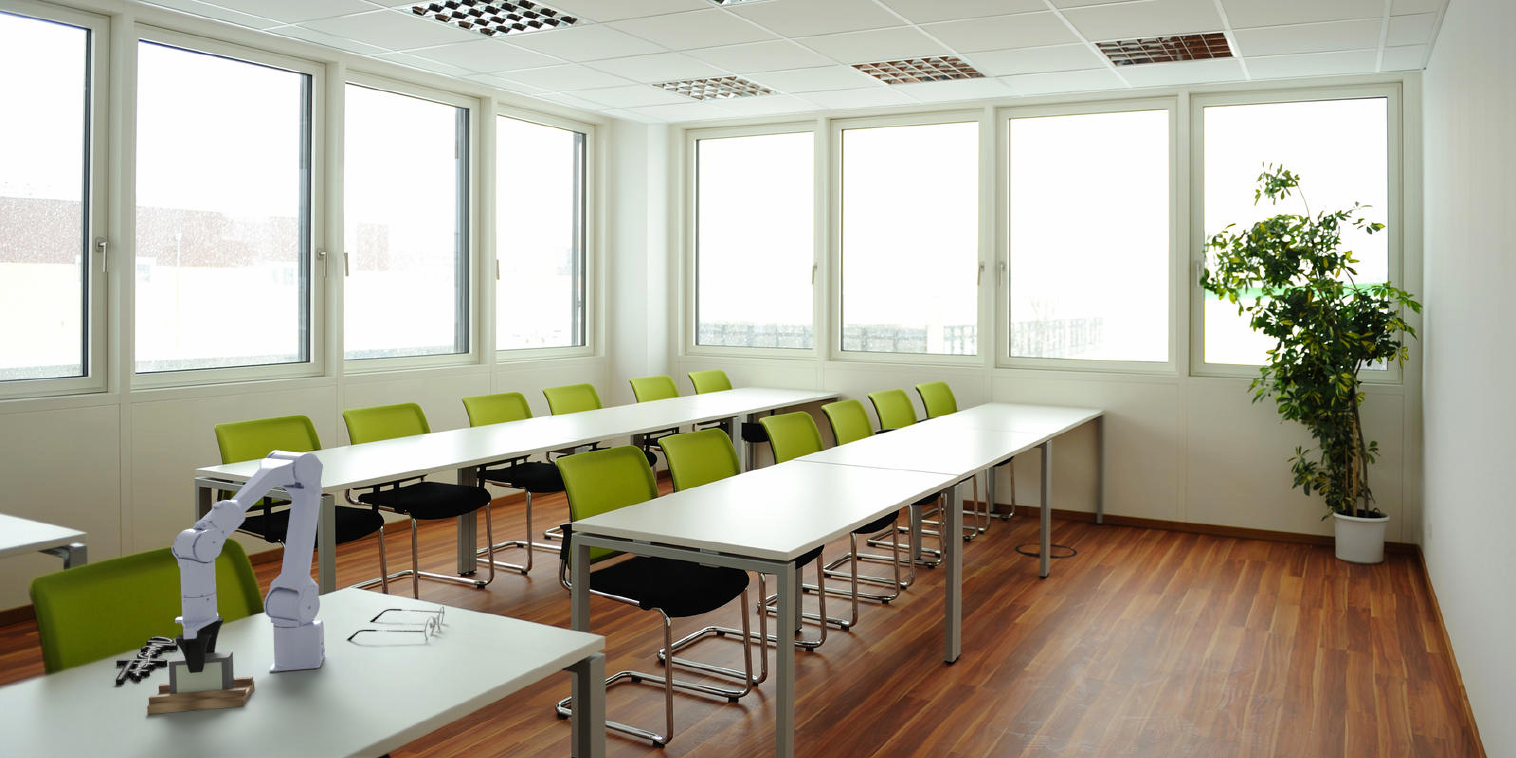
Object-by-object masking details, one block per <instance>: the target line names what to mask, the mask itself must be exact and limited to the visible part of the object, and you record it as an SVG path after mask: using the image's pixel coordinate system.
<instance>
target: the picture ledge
mask: <svg viewBox="0 0 1516 758" xmlns="http://www.w3.org/2000/svg"><path fill="white" fill-rule="evenodd" d="M254 690H255V680H254V676H244V677H234V688H233V689H225V690H213V691H201V692H189V693H177V694H170V682H167V683H160V684H159V685H158V692H157V694H154V695H150V696H149V697H148V705H147V707H146V709H147V711H146V713H147V715H153V714H165V713H178V712H188V711H189V712H191V711H199V710H200V711H201V710H210V709H211V710H212V709H222V708H223V709H224V708H234V707H235V708H236V707H244V706H245V705H246V704H247V701H248V700H249V698H250V697H251V695H252V693H253V692H254Z"/></svg>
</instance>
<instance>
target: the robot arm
mask: <svg viewBox="0 0 1516 758" xmlns="http://www.w3.org/2000/svg"><path fill="white" fill-rule="evenodd" d="M323 469H324V464H323V463H322V461H321V460H320V459H319V458H318V456H317V455H316V454H314V453H312V452H294V451H282V450H273V451H271V452H269V454H267V455H266V457H265V458H264V459H262V460H260V463H259V468H258V470H257V471H256V472H255V473H254V474H253V475H251V477H250V479H249V480H247V481H246V482H245V484H243V486H242V487H241V488H240V489H239V490H238V491H237V493H236V494H235V495H234V496H233V497H232V498H231V499H230V500H229V499H228V500H227V499H223V500H221V501H216V502H214V504H213V505H212V509H210V511H209V512H207V514H205V515H204V516H203V517H201V519H200V520H198V521H196V522H195V523H194V526H193V527H192V528H188V529H184V530H182V531H181V532H180V533H179V534H178V535H177V536H176V537H175V539H174V541H173V542H174V543H173V545H172V546H170V547H171V553H172V555H173V556H174V558H176V560H177V566H178V568H179V569H180V573H179V574H180V597H181V616H177V617H176V618H175V619H174V620H175V621H174V623H175V624H181V625H182V628H183V629H182V633H183V634H177V636H176V637H175V643H176V644H177V645H178V648H179V649H180V651H181V652H182V655H184V657H185V660H186V663H187V667H188V670H189V672H190V673H198V672H202V671H203V668H204V663H205V654H206V653H216V645H217V641H218V635H219V632H220V629H221V627H222V625H223V623H224V620H225V619H224V617H222V616H220V617H219V613H218V604H217V603H218V600H217V582H216V580H217V579H216V578H217V577H216V576H217V575H216V559H217V558H219V557H220V555H221V553H222V550H223V546H224V544H225V543H226V541H227V540H226V539H228V538H229V537H230V536H231V535H232V534H233V533H234V532H235V531H236V530H237V529H238V528H239V527H240V526H242V524H243V523H244V522H245V521H246V512H247V511H248V510H249V509H250V508H251V507H252V506H254V505H255V504H256V503H257V502H258V501H260V500H261V499H262V498H263V497H264V496H265V495H267V494H268V493H269V492H270V491H271V490H272V489H273V488H277V487H281V488H282V489H284V490H285V491H286V492H287V493H288V495H289V496H290V497H291V504H290V511H289V519H288V525H287V526H288V527H287V531H286V532H287V533H286V539H285V545H284V552H283V559H282V567H281V573H280V574H279V575H278V576H277V577H276V578H275V579H273V580H272V581H271V582H270V585H269V587H270V588H269V591H268V592H267V595H266V597H265V598H264V602H263V609H264V613H265V615H266V617H268V618H270V623H271V624H273V625H272V626H273V628H272V629H273V657H274V658H273V659H274V660H273V663H272V664H271V665H270V667H269V671H268V672H271V673H273V672H282V671H283V672H285V671H295V670H296V671H297V670H309V669H319V668H320V667H321V665H322V664H323V661H324V658H325V656H326V652H325V651H326V650H325V649H326V648H325V629H324V627H325V626H324V622H323V620H321V619H318V620H316V619H315V618H316V617H317V615H318V613H319V612H320V607H321V600H320V598H319V596H320V595H319V592H320V591H319V589H320V586H319V585H318V583H317V582H316V581H315V579H313V578H312V576H311V570H312V563H313V562H312V561H313V556H314V548H315V542H316V534H317V529H318V521H319V514H320V508H321V500H322V493H323V488H322V476H323V471H324V470H323Z"/></svg>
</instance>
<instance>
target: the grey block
mask: <svg viewBox="0 0 1516 758" xmlns="http://www.w3.org/2000/svg"><path fill="white" fill-rule="evenodd" d="M234 674H235V673H234V651H233V650H231V651H230V650H229V651H218V652H216V651H215V652H214V653H206V654H205V663H204V668H203V671H202V672H198V673H190V672H189V670H188V667H187V663H186V660H185V657H184V654H179V655H174V656H173V657H172V658H170V660H169V661H168V676H169V677H168V678H169V679H168V680H169V682H168V683H170V694H177V693H189V692H201V691H213V690H225V689H233V688H234V678H235V677H234V676H235V675H234Z"/></svg>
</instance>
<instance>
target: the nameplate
mask: <svg viewBox="0 0 1516 758" xmlns="http://www.w3.org/2000/svg"><path fill="white" fill-rule="evenodd" d="M165 650H176V651H178V650H179V646H178V645H177V643H176V642H175V639H172V638H171V637H166V636H157V635H155V636H151V637H150V638H149V640H146V644H145V645H144V646H141V648H140V652H139V653H136V658H126V659H125V658H124V659H117V660H116V661H115V662H116V667H117V666H119V667H123V668H122V669H121V670H120V672H119V674H118V675H117V677H116V678H115V685H116V686H122V685H124V684H125V682H126V681H127V680H128V678H132V680H134V682H135V683H137V682H138V683H140V682H142V678H147V676H148V677H150V676H151V672H150V671H155V670H156V669H157V667H159V668H160V667H161V668H162V667H168V659H164V658H158V656H159V655H158V654H161V655H163V653H164V652H163V651H165ZM145 652H146V653H145ZM165 652H166V651H165ZM154 669H155V670H154ZM128 676H130V677H128Z"/></svg>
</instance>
